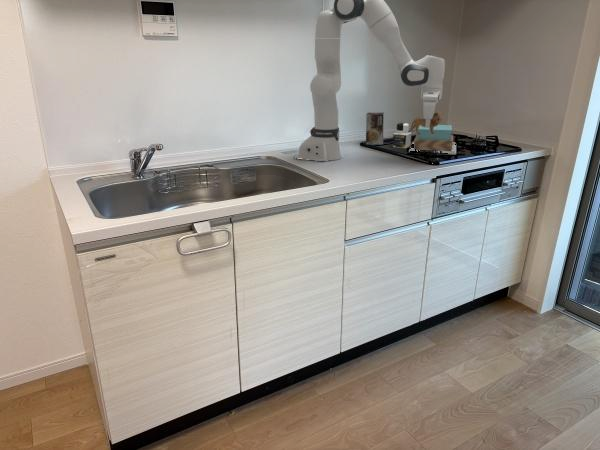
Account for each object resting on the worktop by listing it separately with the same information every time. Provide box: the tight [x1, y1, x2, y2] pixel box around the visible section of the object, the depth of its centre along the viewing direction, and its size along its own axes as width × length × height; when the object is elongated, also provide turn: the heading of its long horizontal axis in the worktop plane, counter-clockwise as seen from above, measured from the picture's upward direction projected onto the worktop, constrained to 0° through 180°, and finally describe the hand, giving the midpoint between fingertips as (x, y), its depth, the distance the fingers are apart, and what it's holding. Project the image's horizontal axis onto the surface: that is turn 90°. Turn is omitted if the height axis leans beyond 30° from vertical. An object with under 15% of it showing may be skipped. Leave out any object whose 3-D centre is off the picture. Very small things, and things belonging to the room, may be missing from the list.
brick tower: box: [408, 124, 457, 155], centre depth 223 cm, size 22×22×11 cm
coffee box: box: [365, 112, 385, 145], centre depth 237 cm, size 9×6×16 cm
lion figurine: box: [408, 111, 443, 135], centre depth 198 cm, size 15×5×9 cm, turn 82°
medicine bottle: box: [392, 122, 412, 149], centre depth 229 cm, size 7×7×12 cm
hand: (427, 126), depth 198 cm, fingers closed on lion figurine, 4 cm apart
